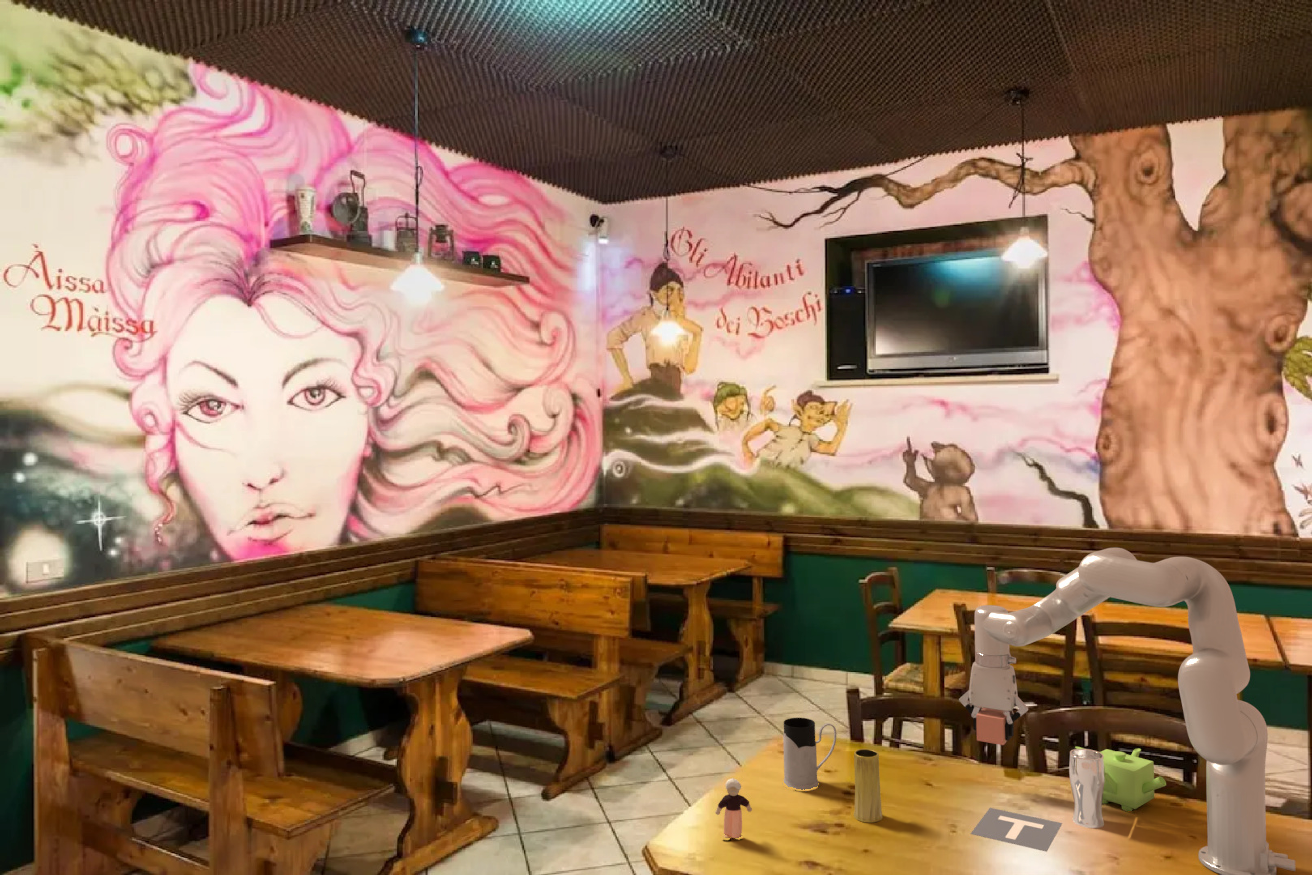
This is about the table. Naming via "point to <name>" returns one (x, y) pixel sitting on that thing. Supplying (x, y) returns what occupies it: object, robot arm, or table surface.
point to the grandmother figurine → (733, 809)
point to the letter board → (1017, 829)
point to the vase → (867, 786)
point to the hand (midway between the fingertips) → (993, 735)
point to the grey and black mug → (802, 753)
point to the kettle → (1129, 779)
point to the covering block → (991, 726)
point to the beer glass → (1087, 786)
